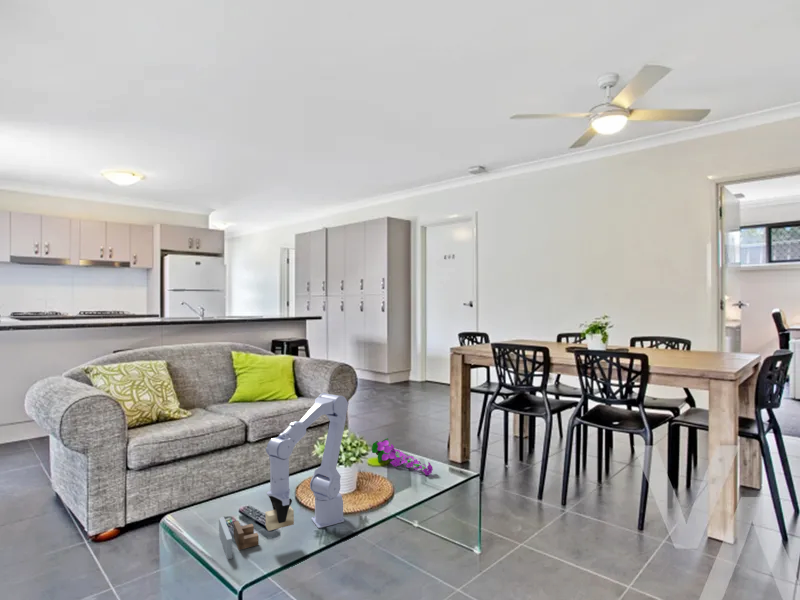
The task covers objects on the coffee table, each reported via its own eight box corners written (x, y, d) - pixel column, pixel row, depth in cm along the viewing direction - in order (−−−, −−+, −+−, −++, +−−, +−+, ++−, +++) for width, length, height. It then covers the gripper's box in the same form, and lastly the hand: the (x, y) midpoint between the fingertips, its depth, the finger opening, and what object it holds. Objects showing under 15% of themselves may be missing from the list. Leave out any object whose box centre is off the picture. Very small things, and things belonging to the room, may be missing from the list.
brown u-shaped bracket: (252, 532, 157) (252, 517, 157) (258, 544, 149) (258, 529, 149) (233, 537, 154) (233, 521, 154) (238, 550, 146) (238, 534, 146)
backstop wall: (223, 534, 156) (223, 516, 156) (232, 558, 142) (232, 538, 142) (219, 535, 155) (218, 517, 155) (227, 559, 141) (227, 539, 141)
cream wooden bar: (290, 519, 152) (290, 505, 152) (293, 524, 149) (293, 510, 149) (265, 525, 148) (265, 511, 148) (268, 530, 145) (268, 516, 145)
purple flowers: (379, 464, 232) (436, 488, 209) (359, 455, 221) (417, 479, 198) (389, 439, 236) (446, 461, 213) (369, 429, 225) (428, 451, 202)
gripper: (261, 471, 153) (262, 512, 153) (272, 487, 140) (273, 532, 141) (283, 467, 157) (283, 508, 157) (295, 482, 144) (296, 526, 144)
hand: (280, 519), depth 149 cm, fingers closed on cream wooden bar, 4 cm apart
